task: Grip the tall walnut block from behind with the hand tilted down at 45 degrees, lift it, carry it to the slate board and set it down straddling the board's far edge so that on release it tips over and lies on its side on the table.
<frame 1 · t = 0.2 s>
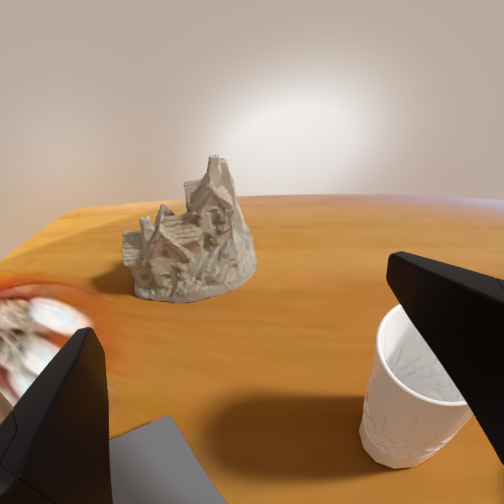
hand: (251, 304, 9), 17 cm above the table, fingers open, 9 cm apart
ceramic cottage: (198, 264, 43), on the table
white cup: (401, 431, 20), on the table
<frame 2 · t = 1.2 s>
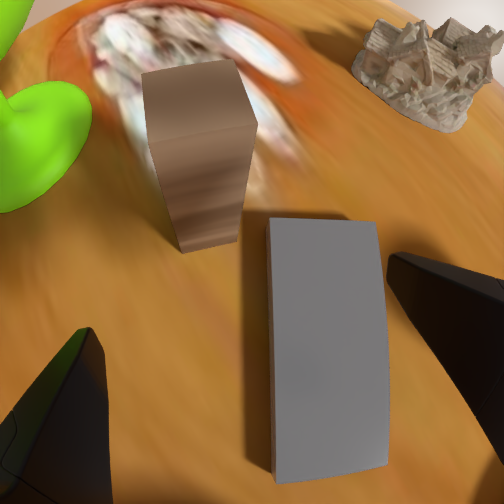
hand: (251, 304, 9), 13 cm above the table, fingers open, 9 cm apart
wineglass: (23, 141, 25), on the table
ceramic cottage: (414, 83, 33), on the table
walnut block: (203, 222, 24), on the table
slate board: (325, 350, 22), on the table
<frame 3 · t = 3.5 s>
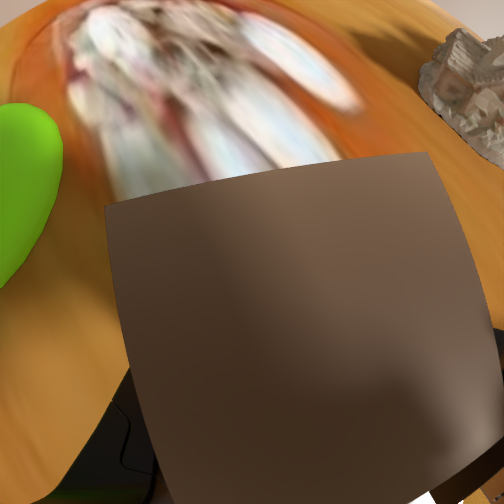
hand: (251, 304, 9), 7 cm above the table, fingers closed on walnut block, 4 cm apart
ceramic cottage: (482, 108, 24), on the table
walnut block: (243, 352, 15), on the table, touching gripper
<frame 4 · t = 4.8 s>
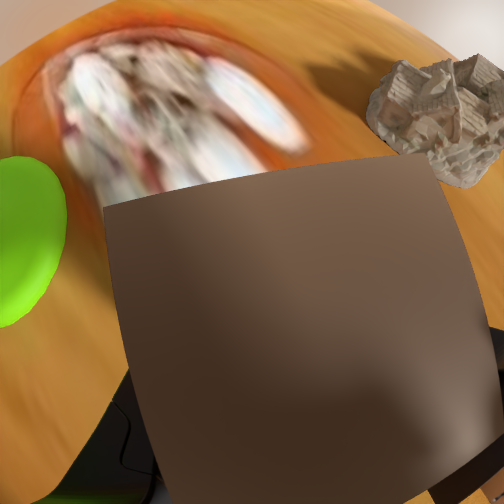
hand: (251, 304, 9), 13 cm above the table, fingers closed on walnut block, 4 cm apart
ceramic cottage: (432, 125, 30), on the table
walnut block: (242, 351, 15), point 6 cm above the table, touching gripper
when the fingers open (10 cm above the table, at t = 6.4 s): walnut block drops 1 cm and tips over, point 2 cm above the table.
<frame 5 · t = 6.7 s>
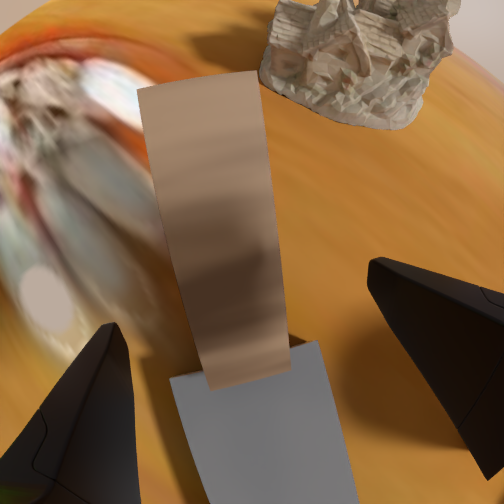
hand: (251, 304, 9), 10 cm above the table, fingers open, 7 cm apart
ceramic cottage: (346, 69, 27), on the table
walnut block: (242, 355, 16), point 2 cm above the table, tilted 50°
slate board: (281, 492, 16), on the table
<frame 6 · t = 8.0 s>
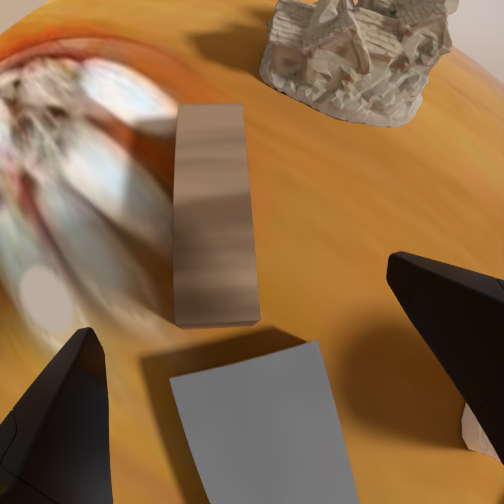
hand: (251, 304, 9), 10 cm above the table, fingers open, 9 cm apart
ceramic cottage: (346, 67, 27), on the table
walnut block: (217, 325, 17), point 2 cm above the table, tilted 90°
slate board: (281, 492, 16), on the table
white cup: (486, 412, 18), on the table
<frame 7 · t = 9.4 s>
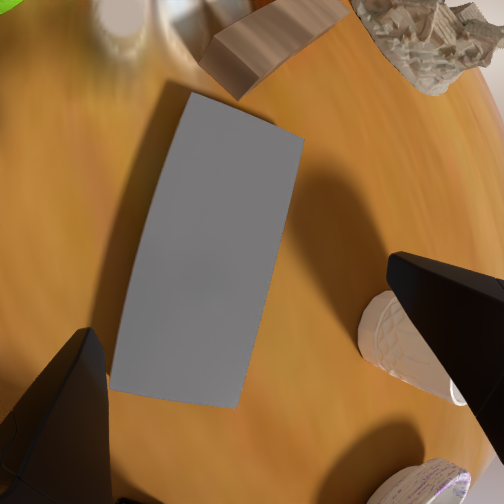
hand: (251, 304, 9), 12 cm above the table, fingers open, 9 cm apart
ceramic cottage: (408, 39, 30), on the table
walnut block: (225, 70, 19), point 2 cm above the table, tilted 90°
slate board: (202, 253, 20), on the table
white cup: (382, 327, 27), on the table
paper bowls: (388, 496, 29), on the table
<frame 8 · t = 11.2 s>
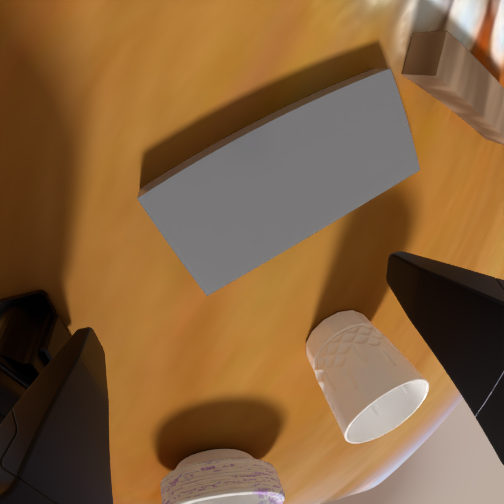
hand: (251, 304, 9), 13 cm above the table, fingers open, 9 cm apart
walnut block: (422, 52, 18), point 2 cm above the table, tilted 90°
slate board: (290, 169, 21), on the table
white cup: (335, 336, 30), on the table
paper bowls: (213, 462, 37), on the table
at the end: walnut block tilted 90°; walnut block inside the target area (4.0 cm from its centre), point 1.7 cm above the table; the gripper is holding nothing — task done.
